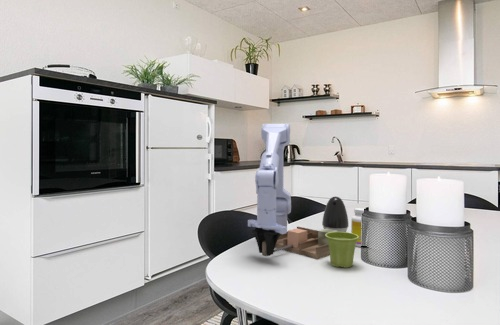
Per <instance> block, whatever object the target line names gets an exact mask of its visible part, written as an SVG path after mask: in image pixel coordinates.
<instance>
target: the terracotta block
mask: <svg viewBox="0 0 500 325" xmlns="http://www.w3.org/2000/svg"><path fill="white" fill-rule="evenodd" d="M287 231H288V242H287V246H286V247H282V248H274V252H273V253H276V252H279V251H284V250H283V249H287V248H290V247H295V248H299V243H302V242H305V241H307V230H302V229H297V228H293V229H289V230H287ZM261 256H263V257H269V256H271V255H267V252H266V241H262V253H261Z"/></svg>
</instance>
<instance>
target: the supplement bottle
mask: <svg viewBox="0 0 500 325" xmlns="http://www.w3.org/2000/svg"><path fill="white" fill-rule="evenodd" d="M364 209H365V208H363V207H358V208H357V207H356V208H354V215H352V217H351V222H350V223H351V227H350V228H351V230H350V233H353V234H356V235H358V236H359V238H358V239H357V243H356V245H355V247H359V248H362V247H361V229H362V228H361V215H362V213H363V212H364Z"/></svg>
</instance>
